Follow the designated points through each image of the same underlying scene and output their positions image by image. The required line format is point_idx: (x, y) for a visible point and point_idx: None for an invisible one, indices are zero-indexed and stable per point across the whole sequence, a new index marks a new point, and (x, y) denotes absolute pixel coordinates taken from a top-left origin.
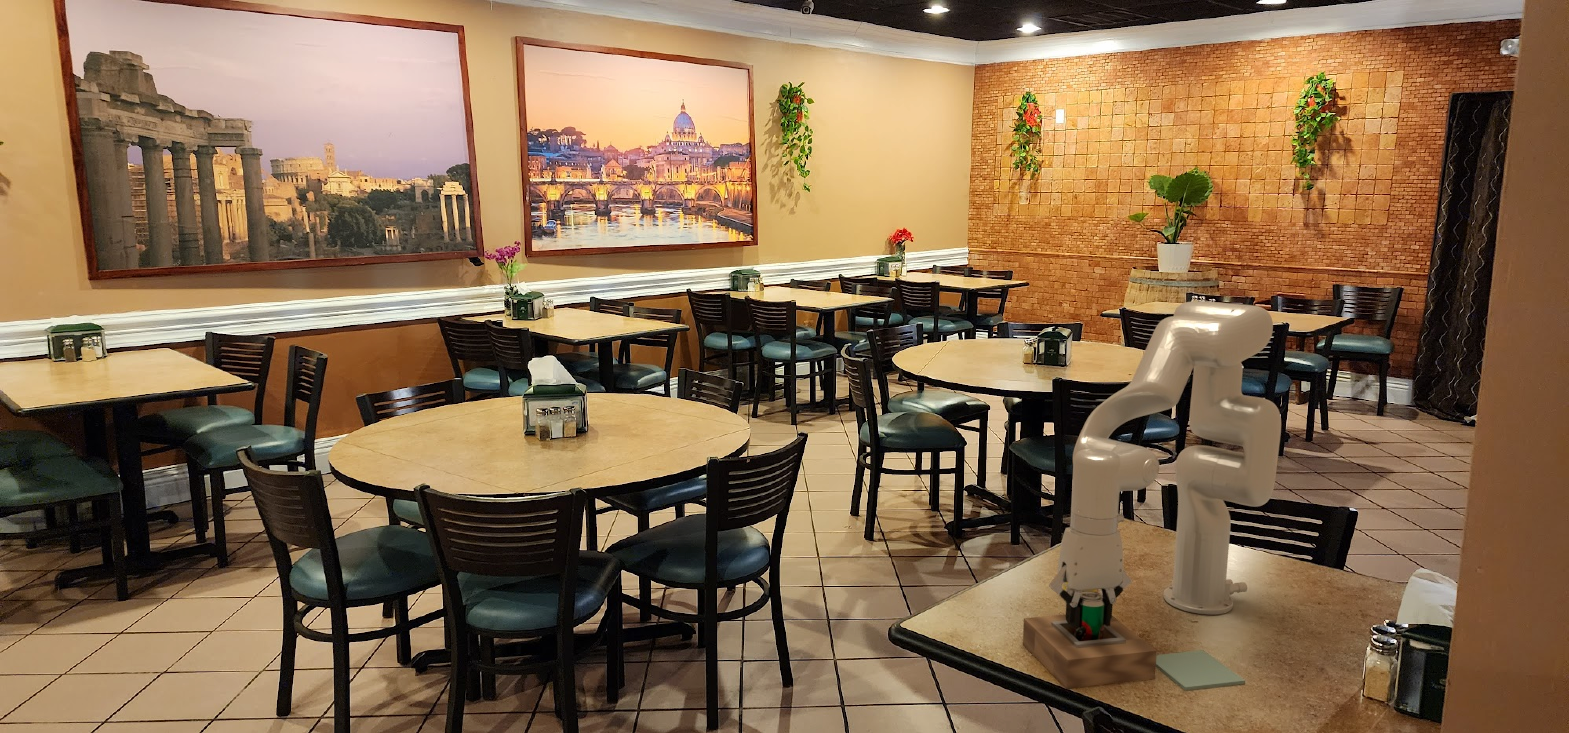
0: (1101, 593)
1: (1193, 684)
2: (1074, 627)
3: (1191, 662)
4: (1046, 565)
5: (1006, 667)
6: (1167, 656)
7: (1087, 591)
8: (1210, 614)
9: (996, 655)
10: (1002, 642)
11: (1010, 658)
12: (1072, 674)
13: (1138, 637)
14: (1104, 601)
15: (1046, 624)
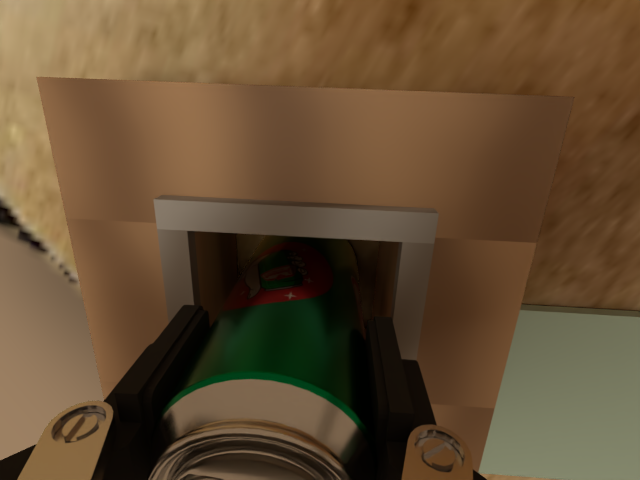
0: (404, 464)
1: (513, 468)
2: None
3: (625, 380)
4: None
5: (23, 235)
6: (587, 330)
7: (280, 444)
8: None
9: (3, 146)
10: (47, 41)
11: (50, 180)
12: None
13: (490, 397)
14: (381, 476)
15: (138, 185)
